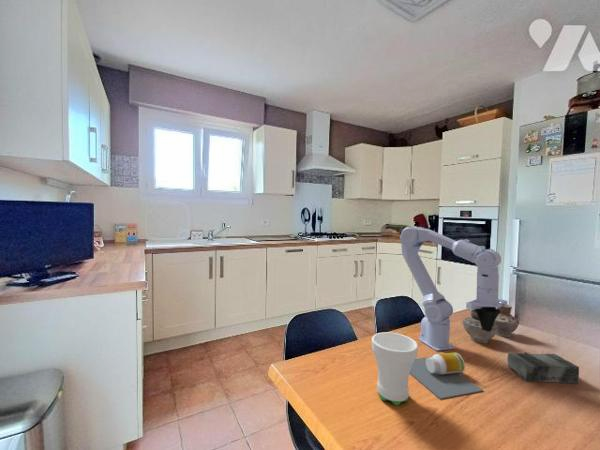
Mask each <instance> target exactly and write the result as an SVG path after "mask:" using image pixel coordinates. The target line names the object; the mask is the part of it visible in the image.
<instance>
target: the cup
mask: <svg viewBox="0 0 600 450" xmlns="http://www.w3.org/2000/svg"><path fill="white" fill-rule="evenodd" d="M371 350H372V352H373V354H374V358H375V360H376V366H377V374H378V376H377V377H378V378H377V379H378V380H377V382H376V390H377V392H378V395H379V397H380V399H381V400H382V401H384V402H385V401H390V402H391V403H392V404H394V405H395V406H399V405H400V404H401V403H402V402H404V403H405V402H408V401H409V395H410V394H409V393H410V392H409V391H410V389H409V378H410V377H409V376H410V374H409V373H410V370H411V367H412V364H413V362H414V360H415V359H418V354H419V352H418V351H419V345H418V343H417V341H415V340H414V339H413V338H411V337H410V336H407V335H404V334H402V333H401V334H400V333H398V332H397V333H396V332H391V331H390V332H385V331H383V332H378V333H375V334H373V336H372V337H371Z"/></svg>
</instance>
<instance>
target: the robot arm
mask: <svg viewBox="0 0 600 450" xmlns="http://www.w3.org/2000/svg"><path fill="white" fill-rule="evenodd" d="M399 240H400V242H401V254H402V256H403V258H404V261H405V263H406V264H407V267H408V268H409V271H410V273H411V274H412V275H411V276H413V278H414V281H415V282H416V284H417V286H418V289H419V291H420V293H421V295H422V297H423V299H422V305H423V307H424V315H425V316H424V317H423V318H422V319H421V321H420V334H419V335H420V336H419V337H418V340H419V342H421V343H424V344H425V345H426V346H428V347H430V348H431V349H433V350H434V351H436V352H438V351H439V352H440V351H446V350H447V351H448V350H454V349H456V347H455V346H453V345H452V344H451V343H450V332H451V331H450V330H451V329H450V328H451V327H450V325H451V320H450V317H451V316H452V315H453V313H454V309H453V306H452V304H451V303H450V302H449V301H448V300H447V299H446V298H445V296H444V295H443V293H441V292H439V291H438V289H437V287H436V285H435V284H434V281H433V279H432V278H431V276H430V273H429V272H428V270H427V268H426V266H425V264H424V262H423V260H422V258H421V257H420V255H419V252H420V249H421V247H422V246H423V245H424V243H426V242H431V243H434V244H436V245H440V246H442V247H443V248H444V247H445V248H447V249H450V250H451V251H452V254H454V256H457V257H459V258H462V259H464V260H466V261H468V262H471V263H473V264H475V265H476V267H477V268H476V269H477V272H476V299H474V300H472V301H467V302H465V304H466V306H465V308H466V309H467V310H469V311H471V310H475V311H476V313H477V315H478V317H479V320H480V323H481V327H482V329H483V330H485V331H487V332H489V331H491V330H492V327H493V324H494V321H495V319H496V318H497V316H498V315H499V314H500V310H499V309H497V308H498V307H501V306H503V307H507V304H508V300H505V299H502V298H500V299H499V285H500V284H499V280H500V279H499V277H500V276H499V275H500V274H499V265H500V264H501V261H502V256H501V255H500V254H499V252H498V251H496V250H494V249H492V248H487V249H486V246H484V245H477V244H474V243H473V242H471V240H469V239H467V238H465V239H459V240H454V239H452V238H450V237H448V236H445V235H443V234H441V233H439V232H436V231H434V230H432V229H430V228H425V227H422V226H417V227H411V226H407V227H404V228H403V229H402V230H401V233H400V236H399Z"/></svg>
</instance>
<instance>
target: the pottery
mask: <svg viewBox="0 0 600 450" xmlns="http://www.w3.org/2000/svg"><path fill="white" fill-rule="evenodd" d="M512 308H513V306H512V305H510V304H509V303H507V307H503V306H501V307H498V308H497V307H496V309H499V310H500V314H499V315H498V316H497V318H496V319H495V321H494V324H493V327H492V330H491V331H489V332H487V331H485V330H483V329H482V327H481V323H480V320H479V317H478V315H477V313H476V311H475V310H470V316H469V317H466V318H463V320H462V326H463V328H464V330H465V332H466V333H467V334H468V336H470V337H469V338H470V340H471V341H473V342H475V343H479V344H488V343H489V340H491V339H493V337H495V336H500V337H503V338H511V337H512V333H514V332H515V331H516V330H517V328H518V327H519V325H520V320H518V319H517V317H515V316H514V315H512V314H511V312H512V310H513V309H512Z"/></svg>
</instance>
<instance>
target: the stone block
mask: <svg viewBox="0 0 600 450" xmlns="http://www.w3.org/2000/svg"><path fill="white" fill-rule="evenodd" d="M507 366H508V367H509V368H510V369H511V370H512V371H513V372H514V373H516V375H517V376H518V377H520V378H521V379H522V380H523V381H525V382H533V383H558V384H573V385H578V384H579V383H580V382H579V381H580V378H579V377H580V366H578V365H576V364H575V363H573V362H570V360H567V359H566V358H564V357H562V356H560V355H558V354H557V353H527V352H523V353H522V352H521V353H518V352H517V353H515V352H513V353H509V352H508V355H507Z"/></svg>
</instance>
